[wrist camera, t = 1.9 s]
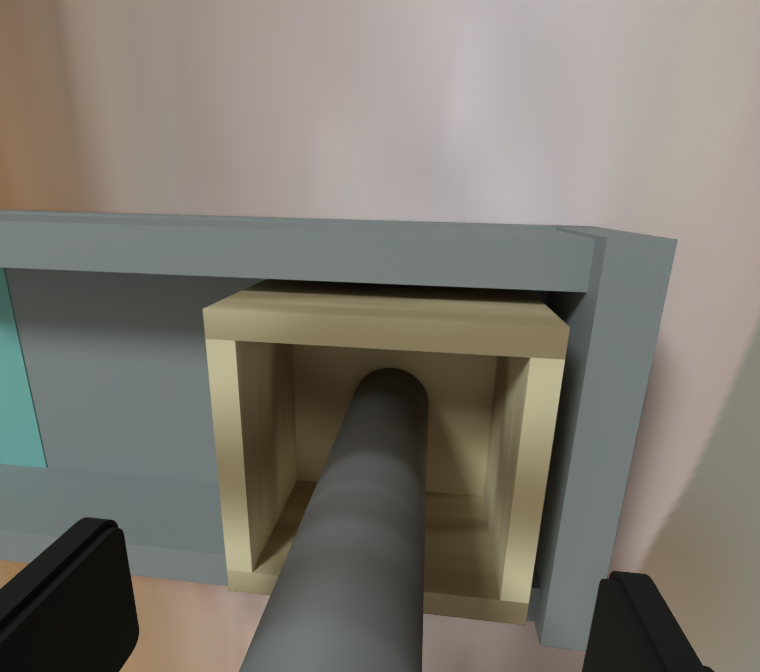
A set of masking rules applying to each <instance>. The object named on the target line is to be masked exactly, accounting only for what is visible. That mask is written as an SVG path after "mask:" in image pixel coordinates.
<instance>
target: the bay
mask: <svg viewBox="0 0 760 672" xmlns="http://www.w3.org/2000/svg"><path fill="white" fill-rule="evenodd" d="M676 245H677V240H676V239H670V238H663V237H657V236H651V235H644V234H638V233H631V232H625V231H619V230H612V229H606V228H599V227H593V226H558V225H522V224H487V223H451V222H416V221H380V220H344V219H309V218H273V217H238V216H202V215H167V214H131V213H96V212H60V211H24V210H0V560H8V561H16V562H25V563H31V562H32V561H33V560H34V559H35V558H36V557H37V556H39V555H40V554H41V553H42V552H43V551H44V550H45V549H46V548H48V547H49V546H50V545H51V544H52V543H53V542H54V541H56V540H57V539H58V538H59V537H60V536H61V535H62V534H64V533H65V532H66V531H67V530H68V529H69V528H70V527H71V526H73V525H74V524H75V523H76V522H77V521H79V520H80V519H82V518H85V517H91V518H101V519H111V520H115V522H116V523H117V524H118V527H119V528H120V529H122V530H123V532H124V537H125V543H126V549H127V556H128V562H129V568H130V575H137V576H146V577H154V578H163V579H172V580H180V581H189V582H198V583H206V584H215V585H224V586H228V577H227V566H226V555H225V545H224V534H223V523H222V512H221V502H220V491H219V480H218V470H217V459H216V448H215V437H214V427H213V416H212V405H211V394H210V384H209V373H208V362H207V352H206V341H205V330H204V319H203V308H205V307H208V306H210V305H212V304H214V303H216V302H218V301H220V300H223V299H225V298H227V297H229V296H231V295H233V294H236V293H238V292H240V291H242V290H244V289H246V288H249V287H251V286H253V285H255V284H257V283H259V282H261V281H264V280H266V279H285V280H309V281H332V282H356V283H379V284H403V285H426V286H450V287H473V288H497V289H520V290H530V291H531V292H532V293H533V294H534V295H535V296H537V297H538V298H539V299H540V300H541V301H542V302H543V303H544V304H545V305H546V306H547V307H548V308H550V309H551V310H552V311H553V312H554V313H555V314H556V315H557V316H558V317H559V318H560V319H561V320H563V321H564V322H565V323H566V324H567V325H568V326H569V327H570V330H569V337H568V344H567V350H566V357H565V364H564V371H563V377H562V384H561V391H560V397H559V404H558V411H557V417H556V424H555V431H554V437H553V444H552V451H551V458H550V464H549V471H548V478H547V484H546V491H545V498H544V504H543V511H542V518H541V524H540V531H539V538H538V545H537V551H536V558H535V565H534V571H533V578H532V585H531V591H530V598H529V605H528V611H527V618H526V621H534V622H535V626H536V630H537V634H538V639H539V643H540V646H546V647H554V648H562V649H571V650H579V651H586V649H587V644H588V639H589V634H590V629H591V623H592V618H593V613H594V608H595V603H596V598H597V593H598V588H599V583H600V580H601V579H607V575H608V571H609V566H610V561H611V556H612V551H613V547H614V542H615V537H616V532H617V527H618V523H619V518H620V513H621V508H622V503H623V499H624V494H625V489H626V484H627V479H628V475H629V470H630V465H631V460H632V456H633V451H634V446H635V441H636V436H637V432H638V427H639V422H640V417H641V412H642V408H643V403H644V398H645V393H646V388H647V384H648V379H649V374H650V369H651V364H652V360H653V355H654V350H655V345H656V341H657V336H658V331H659V326H660V321H661V317H662V312H663V307H664V302H665V297H666V293H667V288H668V283H669V278H670V273H671V269H672V264H673V259H674V254H675V249H676Z"/></svg>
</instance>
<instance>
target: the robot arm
mask: <svg viewBox="0 0 760 672" xmlns="http://www.w3.org/2000/svg"><path fill="white" fill-rule="evenodd" d="M138 636H139V625H138V619H137V613H136V606H135V600H134V594H133V587H132V581H131V575H130V568H129V562H128V556H127V549H126V543H125V537H124V532H123V530H122V529H120V528H119V527H118V524H117V523H116V522H115V520H111V519H101V518H91V517H85V518H82V519H80V520H79V521H77V522H76V523H75V524H74V525H73V526H71V527H70V528H69V529H68V530H67V531H66V532H65V533H64V534H62V535H61V536H60V537H59V538H58V539H57V540H56V541H54V542H53V543H52V544H51V545H50V546H49V547H48V548H46V549H45V550H44V551H43V552H42V553H41V554H40V555H39V556H37V557H36V558H35V559H34V560H33V561H32V562H31V563H29V564H28V565H27V566H26V567H25V568H24V569H23V570H21V571H20V572H19V573H18V574H17V575H16V576H15V577H14V578H12V579H11V580H10V581H9V582H8V583H7V584H6V585H4V586H3V587H2V588H1V589H0V672H119V671H120V669H121V668H122V666H123V665H124V664H125V662H126V661H127V659H128V658H129V656H130V655H131V653H132V652H133V650H134V648H135V646H136V643H137V640H138ZM582 672H714V671H713V670H712V669H711V668H709V667H707V666H703V665H702V663H701V662H700V660H699V658H698V657H697V655H696V653H695V651H694V650H693V648H692V646H691V645H690V643H689V641H688V640H687V638H686V636H685V634H684V633H683V631H682V629H681V628H680V626H679V624H678V623H677V621H676V619H675V617H674V616H673V614H672V612H671V611H670V609H669V608H668V606H667V604H666V602H665V601H664V599H663V597H662V596H661V594H660V592H659V591H658V589H657V587H656V585H655V584H654V582H653V580H652V579H651V578H650V577H649V576H648V575H646V574H639V573H630V572H620V571H612V572H611V574H610V576H609V579H601V580H600V583H599V588H598V593H597V598H596V603H595V608H594V613H593V618H592V623H591V629H590V634H589V639H588V644H587V649H586V654H585V659H584V664H583V669H582Z"/></svg>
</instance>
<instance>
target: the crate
mask: <svg viewBox="0 0 760 672" xmlns="http://www.w3.org/2000/svg"><path fill="white" fill-rule="evenodd" d="M203 319H204V330H205V341H206V352H207V362H208V373H209V384H210V394H211V405H212V416H213V427H214V437H215V448H216V459H217V470H218V480H219V491H220V502H221V512H222V523H223V534H224V545H225V555H226V566H227V577H228V587H229V591H237V592H245V593H254V594H262V595H271V596H270V598H269V601H268V603H267V605H266V608H265V610H264V613H263V615H262V617H261V620H260V622H259V625H258V627H257V629H256V632H255V634H254V637H253V639H252V642H251V644H250V646H249V649H248V651H247V654H246V656H245V658H244V661H243V663H242V666H241V668H240V670H239V672H422V639H423V613H425V614H434V615H442V616H451V617H459V618H468V619H476V620H485V621H494V622H502V623H511V624H519V625H526V618H527V611H528V605H529V598H530V591H531V585H532V578H533V571H534V565H535V558H536V551H537V545H538V538H539V531H540V524H541V518H542V511H543V504H544V498H545V491H546V484H547V478H548V471H549V464H550V458H551V451H552V444H553V437H554V431H555V424H556V417H557V411H558V404H559V397H560V391H561V384H562V377H563V371H564V364H565V357H566V350H567V344H568V337H569V330H570V327H569V326H568V325H567V324H566V323H565V322H564V321H563V320H561V319H560V318H559V317H558V316H557V315H556V314H555V313H554V312H553V311H552V310H551V309H550V308H548V307H547V306H546V305H545V304H544V303H543V302H542V301H541V300H540V299H539V298H538V297H537V296H535V295H534V294H533V293H532V292H531V291H530V290H520V289H497V288H473V287H450V286H426V285H403V284H379V283H356V282H332V281H309V280H285V279H266V280H264V281H261V282H259V283H257V284H255V285H253V286H251V287H249V288H246V289H244V290H242V291H240V292H238V293H236V294H233V295H231V296H229V297H227V298H225V299H223V300H220V301H218V302H216V303H214V304H212V305H210V306H208V307H205V308H203Z"/></svg>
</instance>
